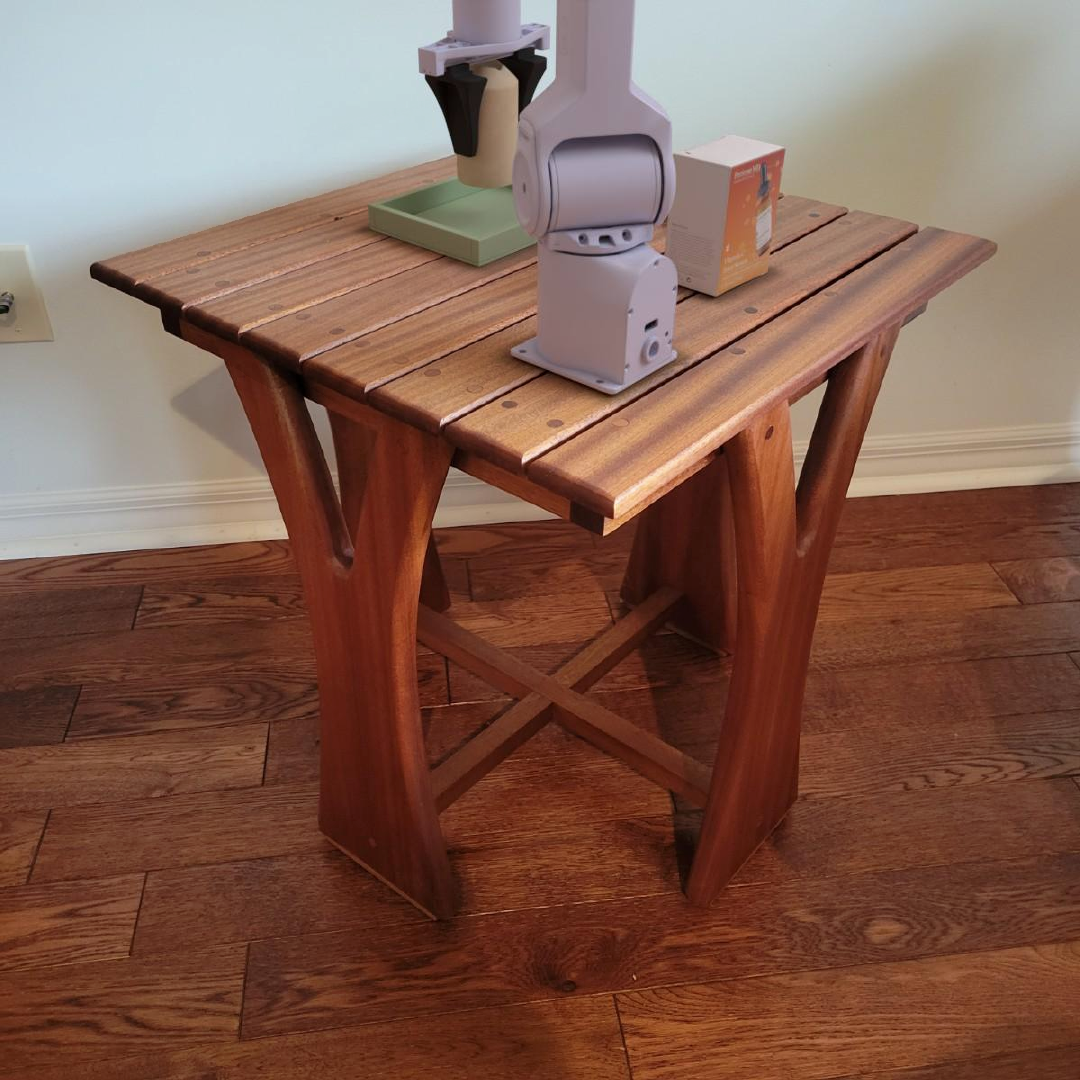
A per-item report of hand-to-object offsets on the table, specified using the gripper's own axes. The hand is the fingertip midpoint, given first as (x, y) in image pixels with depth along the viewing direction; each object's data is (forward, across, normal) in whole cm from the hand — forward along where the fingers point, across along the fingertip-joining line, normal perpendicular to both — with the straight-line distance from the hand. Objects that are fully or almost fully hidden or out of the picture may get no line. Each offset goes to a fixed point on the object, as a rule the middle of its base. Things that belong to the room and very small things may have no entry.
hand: (488, 147), depth 98 cm
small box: (+7, -3, +23) cm, 24 cm away
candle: (+3, 0, 0) cm, 3 cm away
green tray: (+7, 0, 0) cm, 7 cm away
